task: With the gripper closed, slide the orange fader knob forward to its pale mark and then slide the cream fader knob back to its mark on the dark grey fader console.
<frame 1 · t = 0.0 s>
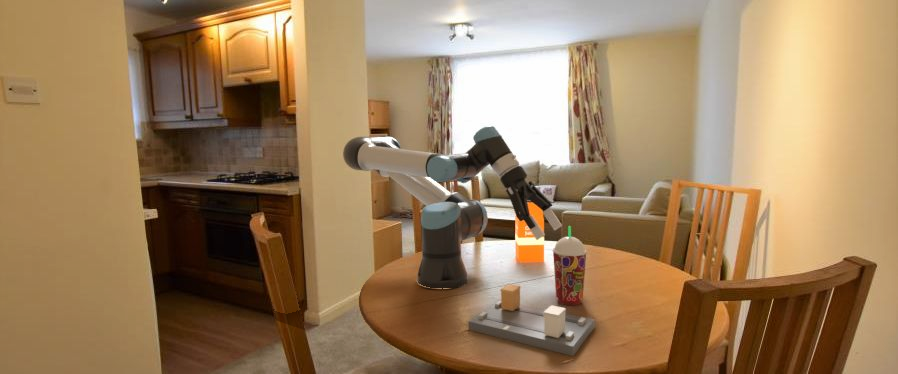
hand: (550, 232, 128), 15 cm above the table, tool tilted 35°, fingers open, 13 cm apart
orange fader: (510, 297, 107), point 5 cm above the table, slide at -7.0 cm
orange juice: (529, 259, 156), on the table
smoothie: (569, 302, 116), on the table
cream fader: (554, 321, 93), point 5 cm above the table, slide at 7.0 cm
fader console: (531, 328, 101), on the table
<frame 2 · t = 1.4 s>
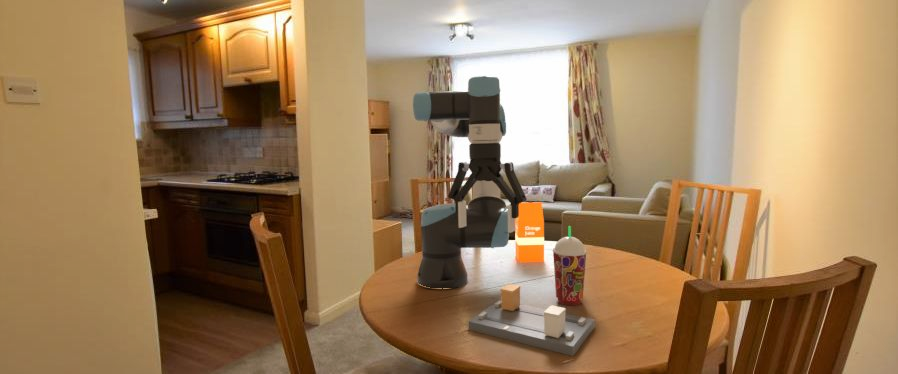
hand: (486, 229, 110), 21 cm above the table, tool pointing down, fingers open, 13 cm apart
nothing on the table moved.
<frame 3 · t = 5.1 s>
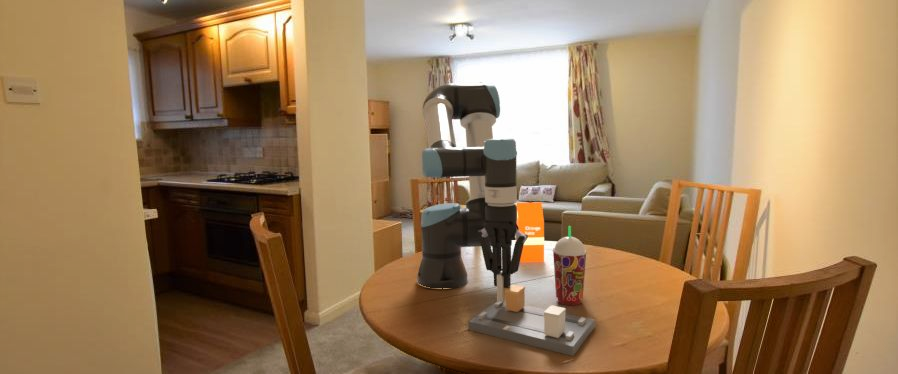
hand: (502, 299, 108), 4 cm above the table, tool pointing down, fingers closed
orange fader: (515, 298, 107), point 5 cm above the table, slide at -5.8 cm, touching gripper
everything else where it was.
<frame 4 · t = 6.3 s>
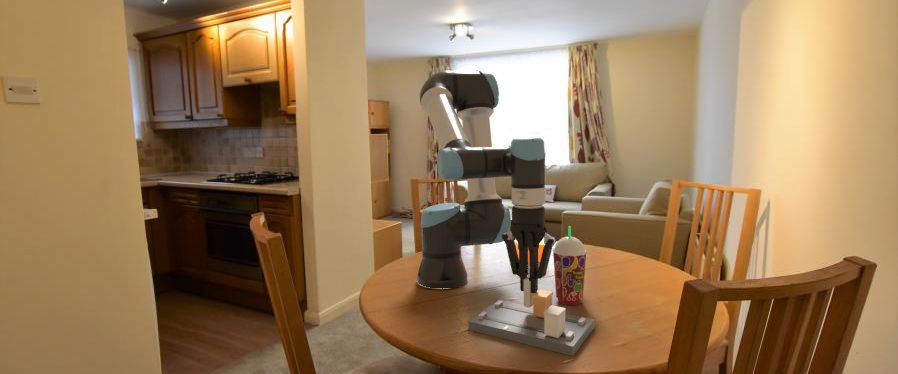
hand: (529, 305, 104), 4 cm above the table, tool pointing down, fingers closed
orange fader: (542, 303, 103), point 5 cm above the table, slide at 1.2 cm, touching gripper
everything else where it was.
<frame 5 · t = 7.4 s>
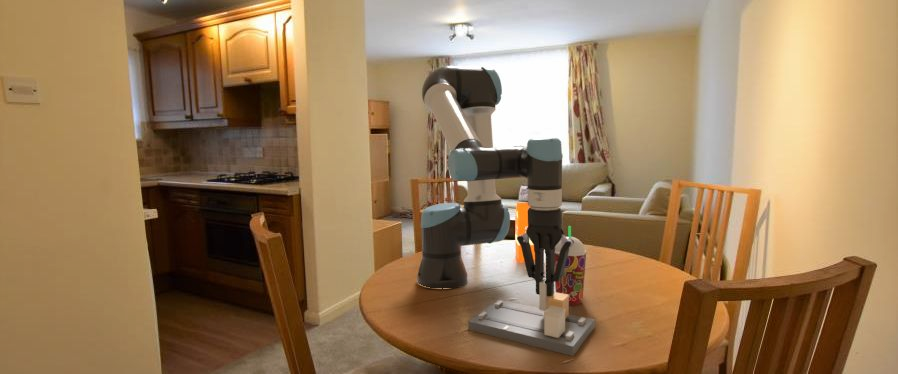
hand: (544, 308, 102), 4 cm above the table, tool pointing down, fingers closed
orange fader: (559, 306, 101), point 5 cm above the table, slide at 5.1 cm, touching gripper
everything else where it was.
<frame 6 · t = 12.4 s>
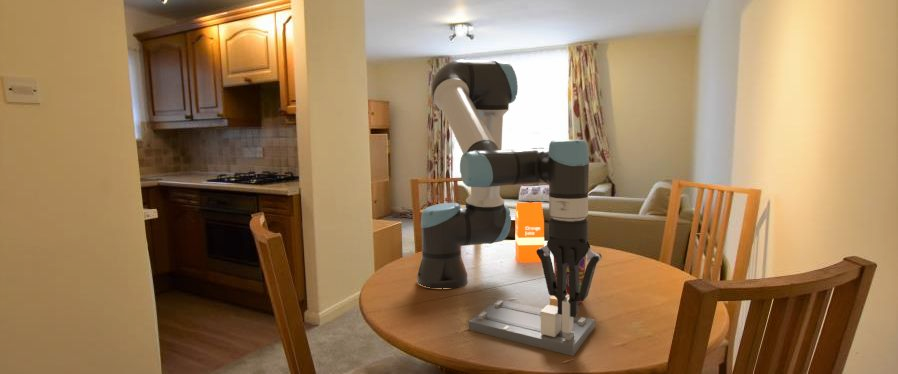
hand: (567, 330, 92), 3 cm above the table, tool pointing down, fingers closed
orange fader: (559, 306, 100), point 5 cm above the table, slide at 5.2 cm
cream fader: (551, 320, 93), point 5 cm above the table, slide at 6.2 cm, touching gripper
everything else where it was.
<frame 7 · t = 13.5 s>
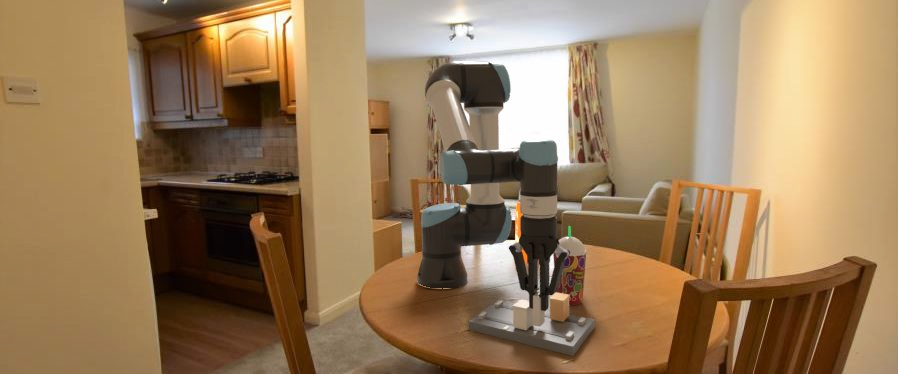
hand: (538, 323, 95), 3 cm above the table, tool pointing down, fingers closed
cream fader: (523, 314, 97), point 5 cm above the table, slide at -0.1 cm, touching gripper
everything else where it was.
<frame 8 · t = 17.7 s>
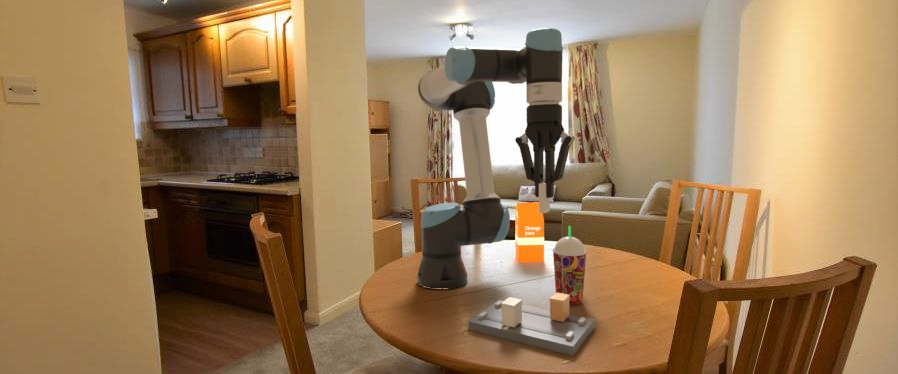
hand: (544, 211, 99), 26 cm above the table, tool pointing down, fingers closed
cream fader: (511, 312, 98), point 5 cm above the table, slide at -2.9 cm
everything else where it was.
at the end: orange fader slide at 5.2 cm; cream fader slide at -2.9 cm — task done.
